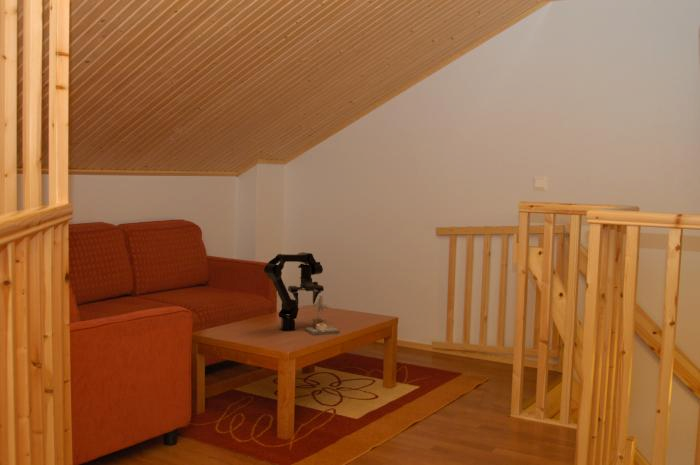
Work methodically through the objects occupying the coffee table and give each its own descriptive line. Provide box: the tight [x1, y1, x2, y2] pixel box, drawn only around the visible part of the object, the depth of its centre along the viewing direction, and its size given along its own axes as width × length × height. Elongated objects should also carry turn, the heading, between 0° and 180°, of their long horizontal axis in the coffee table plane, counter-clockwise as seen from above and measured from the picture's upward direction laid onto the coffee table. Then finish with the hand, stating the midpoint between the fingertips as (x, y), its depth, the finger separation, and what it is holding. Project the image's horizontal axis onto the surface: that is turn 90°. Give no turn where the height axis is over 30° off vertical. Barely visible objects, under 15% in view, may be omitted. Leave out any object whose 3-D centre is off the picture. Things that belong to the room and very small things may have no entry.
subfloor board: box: [304, 325, 341, 336], centre depth 413 cm, size 15×12×2 cm
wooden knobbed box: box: [312, 315, 323, 329], centre depth 415 cm, size 4×4×6 cm
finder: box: [316, 323, 328, 331], centre depth 409 cm, size 4×5×3 cm
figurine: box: [311, 293, 330, 322], centre depth 440 cm, size 11×4×15 cm, turn 61°
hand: (305, 304), depth 425 cm, fingers open, 9 cm apart
